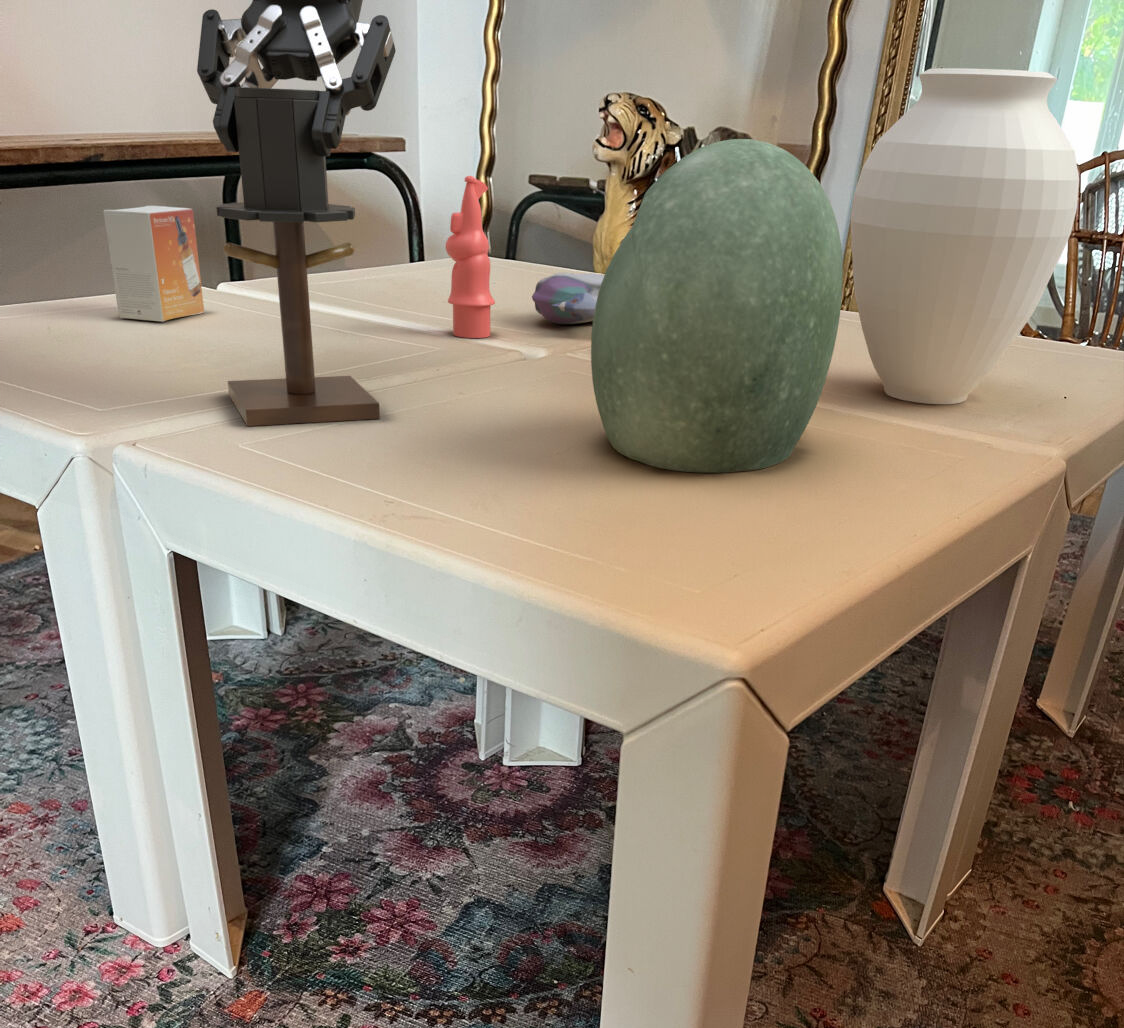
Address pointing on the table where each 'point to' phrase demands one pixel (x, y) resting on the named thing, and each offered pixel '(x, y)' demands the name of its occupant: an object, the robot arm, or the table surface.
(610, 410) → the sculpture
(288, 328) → the coat stand
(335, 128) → the robot arm
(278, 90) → the hat
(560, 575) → the table surface
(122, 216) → the small box
